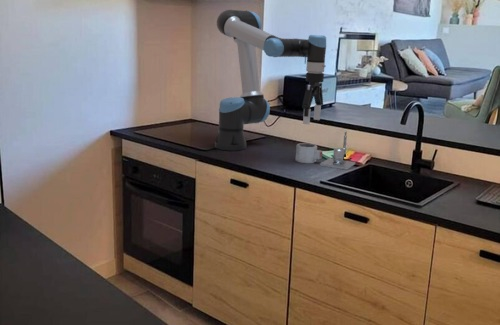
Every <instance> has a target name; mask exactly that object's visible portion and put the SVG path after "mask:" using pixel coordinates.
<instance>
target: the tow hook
mask: <svg viewBox="0 0 500 325" xmlns="http://www.w3.org/2000/svg"><path fill="white" fill-rule="evenodd" d="M342 146H343V147H342V148H341V149H344V157H346V154H347V148H346V147H347V130H346V131H344V136H343V145H342Z"/></svg>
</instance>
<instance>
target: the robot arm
mask: <svg viewBox="0 0 500 325" xmlns="http://www.w3.org/2000/svg"><path fill="white" fill-rule="evenodd" d="M261 22H262V21H261V18H260V16H259V15H258V14H257V13H256V12H254V11H250V10H239V9H238V10H237V9H227V10H224V11H222V12H220V13H219V15H218V17H217V19H216V28H217V29H218V31H219V32H220V33H221V34H222V35H223V36H225V37H226V36H227V37H228V38H233V42H235V43H236V45H237V46H236V47H237V53H238V54H237V55H238V63H239V73H240V82H241V90H242V92H241V93H242V94H241V95H240V96H239V97H238V96H234V97H226V98H223V99H222V100H220V101H219V108H218V113H219V114H218V115H219V116H218V118H219V119H218V133H217V136H216V138H215V140H214V148H215V149H217V150H221V151H230V152H231V151H233V152H234V151H242V150H246V149H247V141H246V137H245V133H244V125H251V124H252V125H253V124H259V123H263V122H265V121H267V119H268V117H269V115H270V113H271V112H270V110H271V107H270V102H268V100H267V99H266V98H265V97H264V93H262V92H261V89H260V87H261V86H260V80H259V77H260V76H259V70H258V61H257V50H256V48H257V49H260V50H262V51H264V53H265V55H266V56H268V57H273V58H281V57H282V58H286V57H287V58H295V57H298V58H299V57H300V58H306V73H305V81H306V82H308V83H309V84H305V92H304V96H303V101H302V105H301V109H303V117H302V119H303V120H302V125H310V122H311V111H312V109H311V105H312V103H313V100H314V102H315V104H314V110H313V120H314V121H316V120H317V121H320V120H321V110H322V109H321V108H322V106H324V96H323V82H324V80H325V79H324V78H325V77H324V76H325V74H324V72H325V68H326V65H325V64H326V63H325V62H326V51H327V37H326V35H323V34H321V35H320V34H318V35H317V34H310V35H308V39H304V38H294V37H293V38H281V37H278V36H276V35H274V34H271V33H269V32H266V31H264V30H262V23H261Z"/></svg>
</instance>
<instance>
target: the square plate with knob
mask: <svg viewBox="0 0 500 325" xmlns="http://www.w3.org/2000/svg"><path fill="white" fill-rule="evenodd" d="M332 155H333V157H332V158H330V157H329V158H327V159H325V160H324V161H322V162H319V166H320V167H321V166H322V167H327V168H333V169H341V170H349V169H350V168H352V167H353V166H354V165H356V161H352V160H343V159H344V149H342V148H340V147H338V148H337V147H335V148H333V154H332Z"/></svg>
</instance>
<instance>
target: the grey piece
mask: <svg viewBox="0 0 500 325" xmlns="http://www.w3.org/2000/svg"><path fill="white" fill-rule="evenodd" d="M295 148H296V149H295V161H296V162H297V163H302V164H314V163H316V162H317V160H321V159H322V158H323V150H321V149H318V145H316V144H315V143H307V142H304V143H303V142H300V143H297V144H296V147H295Z"/></svg>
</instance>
